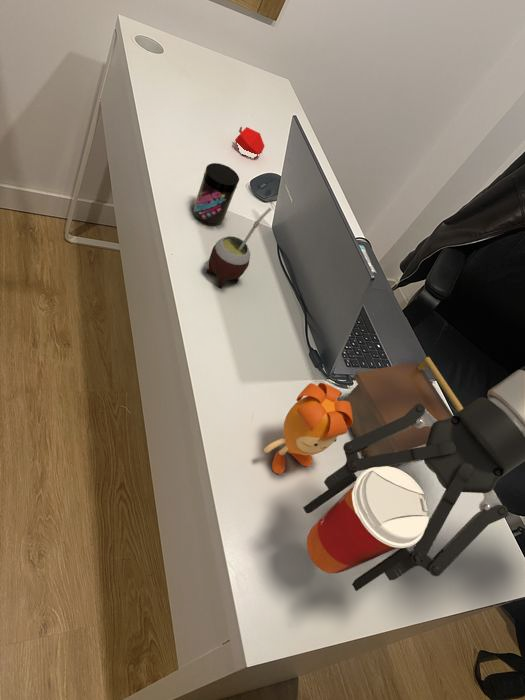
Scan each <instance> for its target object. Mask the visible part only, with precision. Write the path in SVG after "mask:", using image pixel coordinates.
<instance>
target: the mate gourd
mask: <svg viewBox="0 0 525 700" xmlns="http://www.w3.org/2000/svg"><path fill="white" fill-rule="evenodd" d="M271 211H272V208H271V207H268V208H267V209H266V210H265V211H264V212H263V213H262V214H261V215H260V216H259V217H258V219H257V220H255V221H254V223H253V225H252V228H250V231H249V232H248V234H247V235H246V236H245V238H244V240H243V239H242V238H239V237H237V236H233V235H227V236H224V237H221V238H219V240H218V241H217V242H216V243H215V244H214V245H213V247H212V249H211V253H210V256H209V259H208V268H206V272H205V273H206V274H208V275H209V276H213V277H215V278H219V280H218V284H217V287H218V288H219V289H223V288H224V283H225V281H227V282H231V283H235V284H238V283H239V279H240V278H241V277H242V276H243V274H244V273H245V271H247V269H248V267H249V265H250V260H251V251H250V248H249V245H248V244H247V242H248V241H249V239H250V238H251V236H252V234H253V233H254V231H255V230H256V228H258V227H259V225H260V223H261V221H262V220H263V219H264V218H265V217H266V216H267V215H268V214H269V213H270V212H271Z"/></svg>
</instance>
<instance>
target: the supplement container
mask: <svg viewBox="0 0 525 700" xmlns="http://www.w3.org/2000/svg"><path fill="white" fill-rule="evenodd" d="M239 182H240V177H239V174H238V173H237V172H236V171H235V170H234V169H233V168H231V167H229V166H228V165H225V164H222V163H217V162H212V163H209V164H207V166H206V167H205V170H204V173H203V177H202V180H201V183H200V186H199V190H198V193H197V197H196V199H195V202H194V205H193V208H192V209H193V211H192V212H193V215H194V216H195V218H196V219H197V220H198V221H199V222H200V223H202V224H204V225H207V226H218V225H220V224H222V223H223V222H224V220H225V217H226V215H227V213H228V210H229V207H230V204H231V202H232V199H233V197H234V194H235V192H236V189H237V187H238V184H239Z"/></svg>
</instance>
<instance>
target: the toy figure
mask: <svg viewBox="0 0 525 700" xmlns="http://www.w3.org/2000/svg"><path fill="white" fill-rule="evenodd" d="M342 394H343V392H342V391H341V390H339V389H337V388H336V387H334V386H332V385H331V384H328V383H325V382H319V383H318V384H315V383H312V382H310V383H309V384H307V386H305V387H304V388H303V390H302V391H301V392H300V393H299V394H298V396H297V397H296V402H295V403H294V404H293V405H292V407H290V409H289V411H288V412H287V413H286V416H285V419H284V422H283V427H282V428H283V429H282V434H283V437H282V438H279V439H277V440H275V441H273V442H271V443H270V444H268V445H266V446H265V447H264V449H263V451H264V453H266V454H268V453H270V452H271V451H272V450H274V449H275V448H277V447H280V446H281V445H284V444H285V446H283V447H282V448H281V449H279V450H277V451H276V453H275V454H274V457H273V460H272V463H271V468H272V471H273V472H274V473H275V474H276V475H281V474H283V473H284V472H285V469H286V459H285V454H286V453H288V454H291V455H292V457H293V458H294V459H295V460H296V461H297V462H298V463H299V464H300V465H301V466H304V467H310V466H312V465H313V457H312V456H313V455H317V454H319V453H322V452H324V451H326V449H328V448H329V447H330V446H331V445H333V444H334V443H336V442H337V440H338V437H340V436H342V435H346V434H347V433H348V428H350V427H351V426H352V424H353V417H352V409H351V404H350V402H348V401H343V400H338V398H339V397H341V395H342Z"/></svg>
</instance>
